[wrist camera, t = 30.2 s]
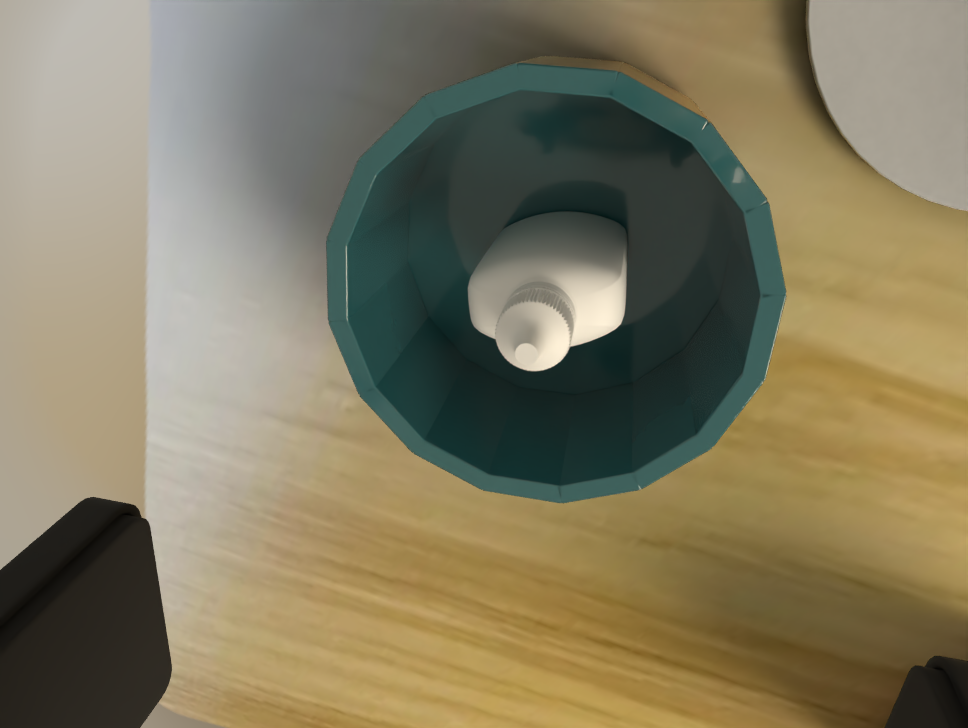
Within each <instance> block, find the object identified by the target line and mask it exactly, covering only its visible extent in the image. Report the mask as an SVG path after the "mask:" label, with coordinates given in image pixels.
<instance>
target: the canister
mask: <svg viewBox="0 0 968 728" xmlns="http://www.w3.org/2000/svg"><path fill="white" fill-rule="evenodd" d="M561 211H570V212H582V213H589V214H593V215H598V216H601V217H605V218H608V219H610V220H613V221H615V222H617V223H619V224H620V225H622V226H623V227H624V228H625V230H626V233H627V243H628V262H627V286H626V304H625V313H624V317H623V320H622V322H621V324H620V325H619V326H618V327H617V328H616V329H615V330H613V331H611V332H610V333H608V334H606V335H604V336H602V337H599V338H597V339H594V340H592V341H589V342H586V343H583V344H579V345H575V346H571V347H570V348H569V350H568V353H567V354H566V356H565V357H564V358H563V359H562V360H561V362H558V364H556V365H555V366H551V368H548V369H544V370H540V371H538V370H537V371H530V370H529V371H527V370H524V369H520V368H519V367H516V366H514V365H513V364H511V363H510V362H509V361H507V359H505V358H504V356H503V355H502V353H501V352H500V350H499V349H498V346H497V342H496V339H493V338H491V337H489V336H487V335H485V334H483V333H481V332H479V331H478V330H477V329H476V328H475V327H474V325H473V323H472V321H471V317H470V311H469V301H468V285H469V281H470V277H471V275H472V274H473V272H474V270H475V268H476V267H477V265H478V264H479V262H480V261H481V259H482V258H483V256H484V255H485V253H486V252H487V251H488V249H489V248H490V246H491V245H492V243H493V242H494V240H495V239H496V238H497V236H498V235H499V234H500V232H501V231H502V230H503V229H504V228H506V227H508V226H509V225H511V224H513V223H516V222H518V221H520V220H523V219H525V218H528V217H532V216H535V215H539V214H544V213H550V212H561ZM326 252H327V297H328V321H329V325H330V327H331V330H332V332H333V335H334V337H335V339H336V342H337V344H338V346H339V349H340V351H341V354H342V356H343V358H344V361H345V363H346V365H347V368H348V370H349V373H350V375H351V377H352V380H353V382H354V384H355V387H356V389H357V392H358V394H360V397H361V398H362V399H363V400H364V401H365V402H366V403H367V405H368V406H369V407H370V408H371V409H372V410H373V411H374V412H375V413H376V414H377V415H378V416H379V417H380V419H381V420H382V421H383V422H384V423H385V424H386V425H387V426H388V427H389V428H390V429H391V430H392V431H393V433H394V434H395V435H396V436H397V437H398V438H399V439H400V440H401V441H402V442H403V443H404V444H405V445H406V446H407V448H408V449H409V450H410V451H411V452H412V453H413V452H414V454H415V455H417V456H419V457H421V458H423V459H425V460H426V461H428V462H430V463H432V464H434V465H436V466H438V467H440V468H441V469H443V470H445V471H447V472H449V473H451V474H453V475H455V476H456V477H458V478H460V479H462V480H464V481H466V482H468V483H470V484H472V485H473V486H475V487H477V488H479V489H481V490H484V491H489V492H495V493H501V494H507V495H513V496H519V497H525V498H531V499H537V500H543V501H549V502H555V503H567V502H573V501H579V500H585V499H590V498H596V497H602V496H608V495H614V494H620V493H625V492H631V491H637V490H641V489H643V488H645V487H646V486H648V485H650V484H651V483H653V482H655V481H657V480H658V479H660V478H662V477H664V476H665V475H667V474H669V473H670V472H672V471H674V470H676V469H677V468H679V467H681V466H683V465H684V464H686V463H688V462H689V461H691V460H693V459H695V458H696V457H698V456H700V455H702V454H703V453H705V452H707V451H708V450H710V449H711V448H712V447H713V446H714V445H715V444H716V443H717V442H718V440H719V439H720V438H721V436H722V435H723V434H724V433H725V431H726V430H727V429H728V427H729V426H730V425H731V424H732V422H733V421H734V420H735V418H736V417H737V416H738V415H739V413H740V412H741V411H742V409H743V408H744V407H745V406H746V404H747V403H748V402H749V400H750V399H751V398H752V397H753V395H754V394H755V393H756V391H757V390H758V389H759V388H760V386H761V385H762V384H763V382H764V381H765V379H766V376H767V372H768V368H769V364H770V360H771V356H772V352H773V348H774V344H775V340H776V336H777V332H778V328H779V324H780V320H781V316H782V312H783V308H784V304H785V300H786V288H785V282H784V277H783V272H782V267H781V262H780V257H779V252H778V246H777V241H776V236H775V231H774V226H773V221H772V215H771V210H770V205H769V203H768V201H767V198H766V197H765V196H764V194H763V193H762V191H761V190H760V189H759V187H758V186H757V185H756V183H755V182H754V180H753V179H752V178H751V176H750V175H749V174H748V172H747V171H746V170H745V168H744V167H743V165H742V164H741V163H740V161H739V160H738V159H737V157H736V156H735V155H734V153H733V152H732V150H731V149H730V148H729V146H728V145H727V144H726V142H725V141H724V140H723V138H722V137H721V135H720V134H719V133H718V131H717V130H716V129H715V127H714V126H713V124H712V123H711V122H710V121H709V119H708V118H707V117H706V116H705V115H704V113H703V112H702V111H701V110H700V109H699V107H698V106H697V105H696V104H695V102H694V101H692V100H691V99H690V98H688V97H687V96H685V95H683V94H681V93H679V92H678V91H676V90H674V89H672V88H670V87H669V86H667V85H665V84H663V83H662V82H660V81H659V80H657V79H655V78H653V77H651V76H649V75H647V74H645V73H643V72H642V71H640V70H638V69H636V68H634V67H633V66H631V65H629V64H627V63H625V62H624V63H623V62H621V61H611V60H598V59H588V58H573V57H560V56H541V57H537V58H532V59H528V60H524V61H520V62H515V63H512V64H510V65H507V66H504V67H501V68H498V69H496V70H493V71H490V72H487V73H484V74H482V75H479V76H476V77H473V78H471V79H468V80H465V81H462V82H459V83H457V84H454V85H451V86H448V87H445V88H443V89H440V90H437V91H434V92H431V93H429V94H426V95H425V96H423V97H422V98H421V99H420V100H418V101H417V102H416V103H415V104H414V105H413V106H412V107H411V108H410V109H409V110H408V111H407V112H406V113H405V114H404V115H403V116H402V117H401V118H400V119H399V120H398V121H397V122H396V123H395V124H394V125H393V126H392V127H391V128H390V129H389V130H388V131H387V132H385V133H384V134H383V135H382V136H381V137H380V138H379V139H378V140H377V141H376V142H375V143H374V144H373V145H372V146H371V147H370V148H369V149H368V150H367V151H366V152H365V153H364V154H363V155H362V156H361V157H360V158H359V160H358V161H357V163H356V166H355V168H354V171H353V173H352V176H351V178H350V181H349V183H348V186H347V188H346V191H345V193H344V196H343V198H342V201H341V203H340V206H339V208H338V211H337V213H336V216H335V218H334V221H333V223H332V226H331V228H330V231H329V233H328V236H327V241H326Z"/></svg>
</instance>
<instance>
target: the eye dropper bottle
mask: <svg viewBox="0 0 968 728" xmlns="http://www.w3.org/2000/svg"><path fill="white" fill-rule="evenodd" d="M627 262H628V243H627V233H626V230H625V228H624V227H623V226H622V225H620V224H619V223H617V222H615V221H613V220H610V219H608V218H605V217H601V216H598V215H593V214H589V213H582V212H570V211H561V212H550V213H544V214H539V215H535V216H532V217H528V218H525V219H523V220H520V221H518V222H516V223H513V224H511V225H509V226H508V227H506V228H504V229H503V230H502V231H501V232H500V234H499V235H498V236H497V238H496V239H495V240H494V242H493V243H492V245H491V246H490V248H489V249H488V251H487V252H486V253H485V255H484V256H483V258H482V259H481V261H480V262H479V264H478V265H477V267H476V268H475V270H474V272H473V274H472V275H471V277H470V281H469V285H468V301H469V311H470V317H471V321H472V323H473V325H474V327H475V328H476V329H477V330H478V331H479V332H481V333H483V334H485V335H487V336H489V337H491V338H493V339H496V342H497V346H498V349H499V350H500V352H501V353H502V355H503V356H504V358H505V359H507V361H509V362H510V363H511V364H513V365H514V366H516V367H519V368H520V369H524V370H527V371H529V370H530V371H537V370H538V371H540V370H544V369H548V368H551V366H555V365H556V364H558V362H561V360H562V359H563V358H564V357H565V356H566V354H567V353H568V350H569V348H570V347H571V346H575V345H579V344H583V343H586V342H589V341H592V340H594V339H597V338H599V337H602V336H604V335H606V334H608V333H610V332H611V331H613V330H615V329H616V328H617V327H618V326H619V325H620V324H621V322H622V320H623V317H624V313H625V304H626V286H627Z"/></svg>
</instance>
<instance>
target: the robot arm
mask: <svg viewBox="0 0 968 728" xmlns="http://www.w3.org/2000/svg"><path fill="white" fill-rule="evenodd" d="M171 672H172V664H171V657H170V651H169V645H168V638H167V632H166V625H165V619H164V613H163V606H162V600H161V593H160V587H159V581H158V574H157V568H156V561H155V555H154V549H153V542H152V536H151V530H150V525H149V522H148V521H147V520H146V519H144V518H141V515H140V511H139V509H138V508H137V507H136V506H135V505H131V504H127V503H122V502H117V501H111V500H106V499H101V498H96V497H90V498H86V499H84V500H83V501H81V502H80V503H78V504H77V505H76V506H75V507H74V508H72V509H71V510H70V511H69V512H68V513H67V514H65V515H64V516H63V517H62V518H61V519H60V520H58V521H57V522H56V523H55V524H54V525H52V526H51V527H50V528H49V529H48V530H47V531H46V532H44V533H43V534H42V535H41V536H40V537H39V538H37V539H36V540H35V541H34V542H33V543H31V544H30V545H29V546H28V547H27V548H26V549H24V550H23V551H22V552H21V553H20V554H18V556H16V557H15V558H14V559H13V560H11V562H9V563H8V564H7V565H6V566H4V567H3V568H2V569H1V570H0V728H140V727H141V726H142V724H143V723H144V721H145V720H146V719H147V717H148V716H149V714H150V713H151V712H152V710H153V709H154V707H155V706H156V705H157V703H158V702H159V700H160V699H161V698H162V696H163V694H164V693H165V691H166V689H167V687H168V684H169V681H170V678H171ZM885 728H968V661H964V660H958V659H953V658H948V657H942V656H934V657H932V658H931V659H929V661H928V662H927V664H926V666H925V667H923V666H914V667H912V668H911V670H910V671H909V673H908V675H907V677H906V680H905V682H904V684H903V687H902V689H901V691H900V694H899V696H898V698H897V700H896V703H895V705H894V707H893V710H892V712H891V714H890V717H889V719H888V721H887V723H886V726H885Z"/></svg>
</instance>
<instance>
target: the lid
mask: <svg viewBox="0 0 968 728" xmlns="http://www.w3.org/2000/svg"><path fill="white" fill-rule="evenodd" d="M806 32H807V43H808V53H809V58H810V62H811V67H812V71H813V75H814V79H815V83H816V86H817V88H818V91H819V93H820V96H821V98H822V101H823V103H824V106H825V108H826V111H827V112H828V114H829V116H830V117H831V119H832V121H833V122H834V124H835V126H836V128H837V129H838V131H839V133H840V134H841V135H842V137H843V138H844V139H845V140H846V141H847V143H848V144H849V145H850V146H851V148H852V149H853V150H854V151H855V152H856V154H857V155H858V156H859V157H861V158H862V159H863V160H864V161H865V162H866V163H867V164H868V165H869V166H871V167H872V168H873V169H874V170H875V171H876V172H877V173H879V174H880V175H882V176H883V177H885V178H886V179H888V180H889V181H891V182H893V183H894V184H896V185H897V186H899V187H900V188H902V189H904V190H906V191H908V192H910V193H912V194H915V195H917V196H919V197H921V198H923V199H925V200H928V201H930V202H934V203H937V204H940V205H944V206H947V207H950V208H954V209H958V210H964V211H968V0H807V1H806Z"/></svg>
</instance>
